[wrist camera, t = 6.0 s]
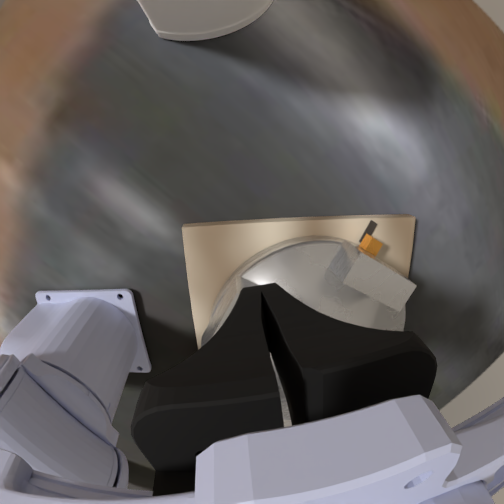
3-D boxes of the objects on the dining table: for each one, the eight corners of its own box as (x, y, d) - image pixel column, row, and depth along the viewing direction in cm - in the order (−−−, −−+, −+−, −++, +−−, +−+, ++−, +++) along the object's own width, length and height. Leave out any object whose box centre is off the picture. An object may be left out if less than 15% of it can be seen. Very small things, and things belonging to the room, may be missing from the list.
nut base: (209, 402, 26) (209, 410, 25) (183, 224, 20) (181, 227, 19) (378, 380, 27) (382, 387, 26) (408, 214, 21) (416, 217, 20)
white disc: (327, 410, 26) (339, 444, 22) (179, 366, 23) (172, 406, 18) (429, 275, 22) (461, 298, 18) (278, 182, 19) (293, 191, 14)
